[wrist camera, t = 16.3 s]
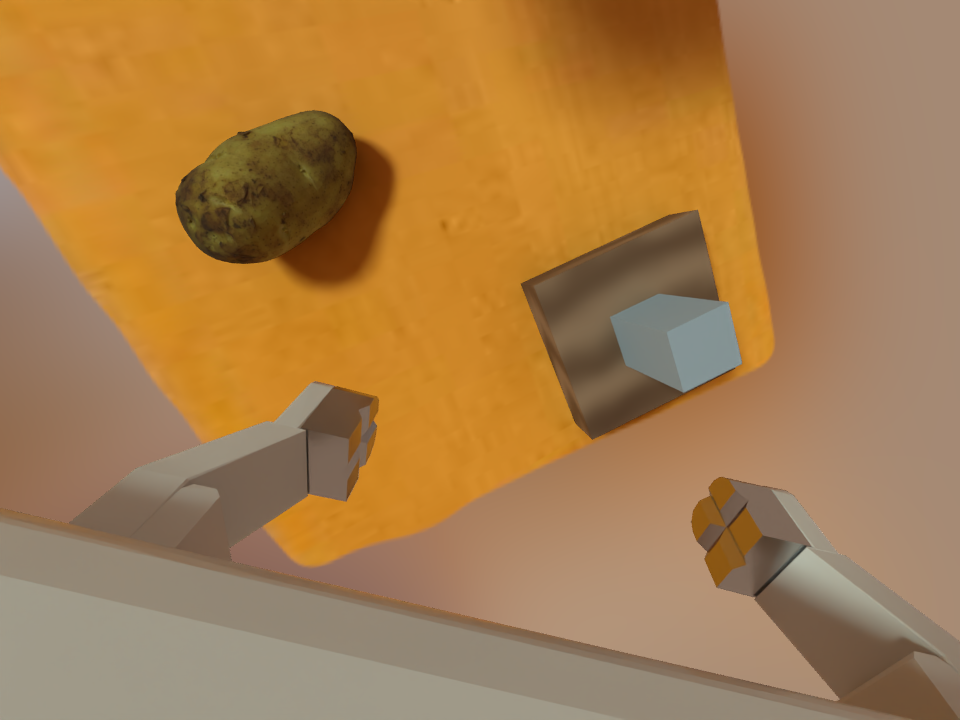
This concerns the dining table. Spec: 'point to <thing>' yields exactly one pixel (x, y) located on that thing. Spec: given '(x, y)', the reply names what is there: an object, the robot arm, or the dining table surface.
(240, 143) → the potato
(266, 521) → the robot arm
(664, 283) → the plinth
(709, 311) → the block
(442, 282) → the dining table surface
